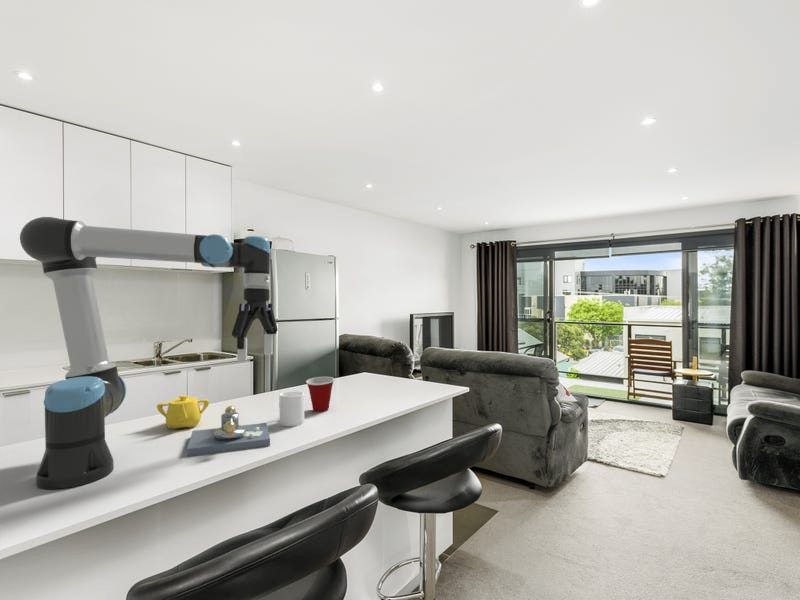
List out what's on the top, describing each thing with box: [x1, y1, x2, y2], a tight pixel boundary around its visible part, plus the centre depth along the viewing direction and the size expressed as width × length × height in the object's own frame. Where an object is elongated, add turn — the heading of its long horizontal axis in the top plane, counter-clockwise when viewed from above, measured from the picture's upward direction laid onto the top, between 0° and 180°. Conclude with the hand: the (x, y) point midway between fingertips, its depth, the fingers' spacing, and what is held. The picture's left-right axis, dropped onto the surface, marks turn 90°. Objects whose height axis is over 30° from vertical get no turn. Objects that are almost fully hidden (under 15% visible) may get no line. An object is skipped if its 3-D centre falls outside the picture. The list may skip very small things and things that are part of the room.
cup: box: [278, 390, 305, 427], centre depth 148 cm, size 8×12×10 cm
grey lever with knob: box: [214, 405, 246, 440], centre depth 128 cm, size 21×9×6 cm, turn 21°
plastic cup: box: [305, 376, 335, 413], centre depth 163 cm, size 11×11×12 cm
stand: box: [186, 422, 271, 457], centre depth 129 cm, size 22×17×3 cm
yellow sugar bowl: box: [156, 394, 210, 430], centre depth 145 cm, size 14×13×10 cm
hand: (255, 357), depth 130 cm, fingers open, 13 cm apart
